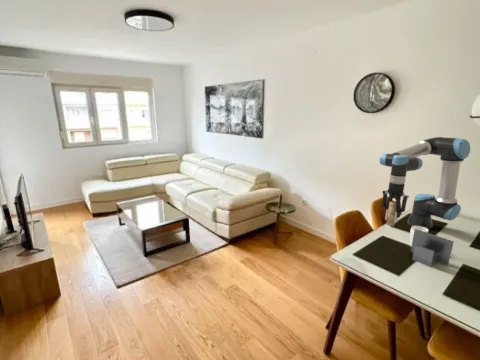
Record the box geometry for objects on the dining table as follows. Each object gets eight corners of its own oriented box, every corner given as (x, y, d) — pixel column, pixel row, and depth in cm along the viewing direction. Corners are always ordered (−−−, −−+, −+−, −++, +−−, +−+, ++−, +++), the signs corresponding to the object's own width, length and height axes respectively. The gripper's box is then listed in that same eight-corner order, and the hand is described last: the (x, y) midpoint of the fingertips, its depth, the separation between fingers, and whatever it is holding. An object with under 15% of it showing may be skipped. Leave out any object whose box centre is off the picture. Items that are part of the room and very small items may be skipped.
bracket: (411, 250, 155) (416, 229, 152) (448, 264, 141) (453, 241, 137) (403, 255, 149) (407, 233, 146) (440, 271, 135) (446, 246, 131)
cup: (428, 251, 155) (432, 232, 152) (411, 249, 156) (414, 231, 153) (421, 243, 163) (424, 226, 160) (405, 242, 165) (408, 224, 162)
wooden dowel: (388, 222, 157) (391, 200, 153) (396, 224, 153) (399, 202, 150) (384, 224, 154) (388, 201, 151) (392, 226, 151) (396, 203, 147)
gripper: (378, 180, 152) (373, 217, 158) (410, 187, 138) (403, 227, 144) (384, 178, 156) (379, 214, 162) (417, 184, 142) (410, 224, 148)
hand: (391, 220), depth 153 cm, fingers closed on wooden dowel, 4 cm apart
